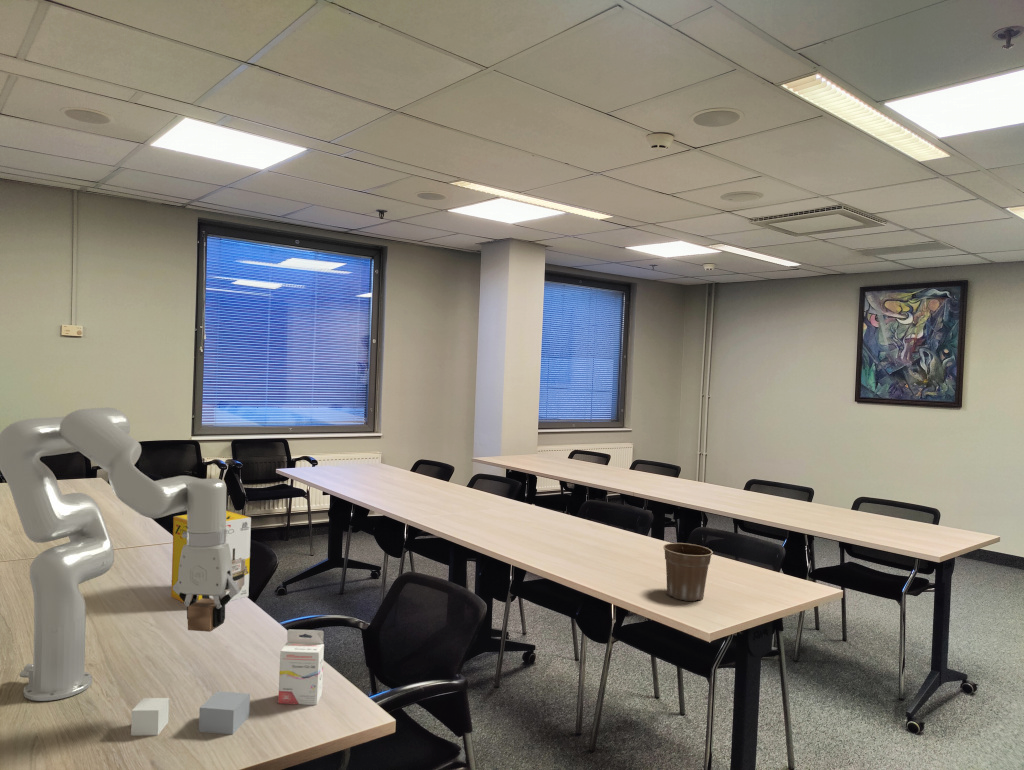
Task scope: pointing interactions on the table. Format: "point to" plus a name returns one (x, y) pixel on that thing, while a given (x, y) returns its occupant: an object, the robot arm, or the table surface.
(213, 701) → the slate base block
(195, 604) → the walnut cube
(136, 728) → the pale grey cube
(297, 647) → the ink cartridge box
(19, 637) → the table surface
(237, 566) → the packaging box
